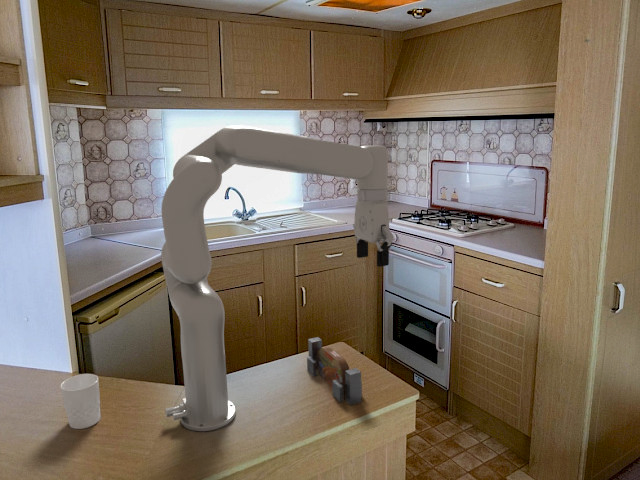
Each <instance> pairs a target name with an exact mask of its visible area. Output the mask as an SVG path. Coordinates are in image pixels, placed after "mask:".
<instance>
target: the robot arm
mask: <svg viewBox="0 0 640 480" xmlns="http://www.w3.org/2000/svg"><path fill="white" fill-rule="evenodd" d="M388 154H389V153H388V149H387V147H386V146H385V145H377V144H372V145H371V144H368V145H367V144H366V145H361V146H358V145H352V144H347V143H341V142H340V143H339V142H334V141H327V140H322V139H316V138H312V137H309V136H303V135H300V134H299V135H298V134H295V133H294V134H293V133H289V132H288V133H287V132H281V131H277V130H276V131H275V130H270V129H269V130H268V129H262V128H259V127H252V126H246V125H244V126H243V125H227V126H225V127H223V128H221V129H219V130H218V131H216V132H215V133H214V134H212V135H211V136H210V137H208V138H207V139H205V140H204V141H203V142H201V143H200V144H198V145H197V146H195V147H194V148H193V149H191V150H190V151H188V152H187V153H185V154H183V156H181V157H180V158H179V159H178V160H177V161H176V163H175V164H174V167H173V170H172V177H173V178H172V180H171V182H169V185H168V186H167V188H166V190H165V192H164V195H163V197H162V202H161V207H160V208H161V211H160V212H161V221H162V225H163V226H162V227H163V232H164V239H165V242H164V243H163V245H162V248H161V251H160V252H161V253H160V257H161V265H162V270H163V274H164V275H163V276H164V278H165V283H166V287H167V293H168V296H169V300H170V304H171V306H172V307H173V310H174V311H175V313H176V314H177V317H178V320H179V324H180V325H179V326H180V352H181V359H182V360H181V361H182V371H183V384H184V393H185V397H184V398H182V403H179V404H178V405H176V406H171V407H167V408H165V409H164V410H165V411H164V412H165V417H166V418H169V417H172V419H173V421H177V420H180V423H181V425H182V426H183V427H185V429H188V430H190V431H196V432H210V431H215V430H218V429H221V428H223V427H225V426H227V425H228V424H229V423H231V422H232V420H234V418H235V417H236V413H237V412H236V405H234V403H233V402H232V401H230V400H229V395H228V394H229V392H228V380H227V379H228V378H227V377H228V376H227V366H226V362H227V361H226V353H225V351H226V350H225V335H224V334H225V332H224V331H225V315H226V314H225V313H226V312H225V308H224V307H225V306H224V303H223V301H222V299H221V297H220V296H219V294H218V293H217V292H216V291H215V290H214V289H213V287H211V286H210V285H209V280H208V276H209V275H210V272H211V270H212V266H213V265H212V263H213V262H212V256H211V255H212V254H211V251H210V247H209V242H208V237H207V233H206V228H205V226H206V224H205V218H204V217H205V216H204V212H205V207H206V206H207V205H206V204H207V202H208V201H209V200H210V199H211V197H213V195H215V193H216V192H217V191H218V190H219V189H220V187H221V186H222V181H223V180H222V179H223V174H224V173H225V172H227V171H228V170H229V169H230V168H232V167H234V165H236V166H237V165H238V166H242V167H248V168H249V167H251V168H257V169H264V170H273V171H280V172H287V173H294V174H301V175H302V174H303V175H304V174H309V175H319V176H329V177H334V178H335V177H336V178H341V179H342V178H344V179H348V180H349V179H350V180H356V183H357V185H356V186H357V188H356V191H357V198H356V203H355V209H354V223H353V224H352V226H353V231H354V237H355V243H356V258H358V259H363V258H367V257H368V256H369V243H371V244H372V243H373V244H374V243H375V244H376V247H377V249H378V250H376V267H378V268H379V267H386V266H389V263H390V259H389V258H390V254H389V253H390V250H391V247H392V245H393V241H394V235H393V233H392V232H391V230H390V215H389V206H388V185H389V183H388V171H389V170H388V165H389V164H388V162H389V161H388V159H389V158H388V156H389V155H388Z"/></svg>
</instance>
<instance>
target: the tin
mask: <svg viewBox="0 0 640 480" xmlns="http://www.w3.org/2000/svg"><path fill="white" fill-rule="evenodd" d="M317 366H318V368H317V371H318V373H319V376H320V377H321V379H322V380H323V381H325V382H326V384H328V385H329V387H331V388H332V381H333V380H337V381H338V382H339V383H340V384H341V385H342V386H343V391H345V371H346V370H350V367H349V364H348V361H347V360H346V359H345V358H344V357H343V356H341V354H339V353H338V352H337V351H335V350H334V349H333V348H332V347H322V348H320V349H319V350H318V353H317Z"/></svg>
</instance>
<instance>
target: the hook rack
mask: <svg viewBox="0 0 640 480" xmlns="http://www.w3.org/2000/svg"><path fill="white" fill-rule="evenodd" d="M307 341H308V347H307V349H308V356H307V357H306V363H307V372H308V374H309V373H310V375H312V377H317V376H318V366H317V353H318V350H319V349H320V348H323V340H322V339H321V338H320V337H319V336H317V337H312V338H308V339H307ZM349 369H350V368H349ZM362 385H363V382H362V372H361V370H359V368H357V367H354V368H351V369H350V370H346V371H345V390H343V386H342V385H341V384H340V383H339V382H338V381H337V380H333V381H332V387H331V388H332V396H333V397H334V399H336V400H337V402H339V403H343V402H344V392H345V402H346V403H347V404H348V405H349V406H353V405H357V404H360V403H362V396H363V393H362V392H363V390H362V389H363V386H362Z"/></svg>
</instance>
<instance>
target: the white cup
mask: <svg viewBox="0 0 640 480" xmlns="http://www.w3.org/2000/svg"><path fill="white" fill-rule="evenodd" d="M59 387H60V390H61V396H62V401H63V406H64V411H65V415H66V417H67V420H68V426H69V427H70V428H71V429H75V430H76V429H77V430H82V429H87V428H89V427H92V426H94V425H95V424H97V423H99V422H100V420H101V416H102V415H101V400H100V399H101V396H100V385H99V376H98V375H97V374H93V373H82V374H81V373H80V374H77V375H74V376H73V375H72V376H69V378H67V379H65V380H62V382H61V384H60V385H59Z"/></svg>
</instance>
